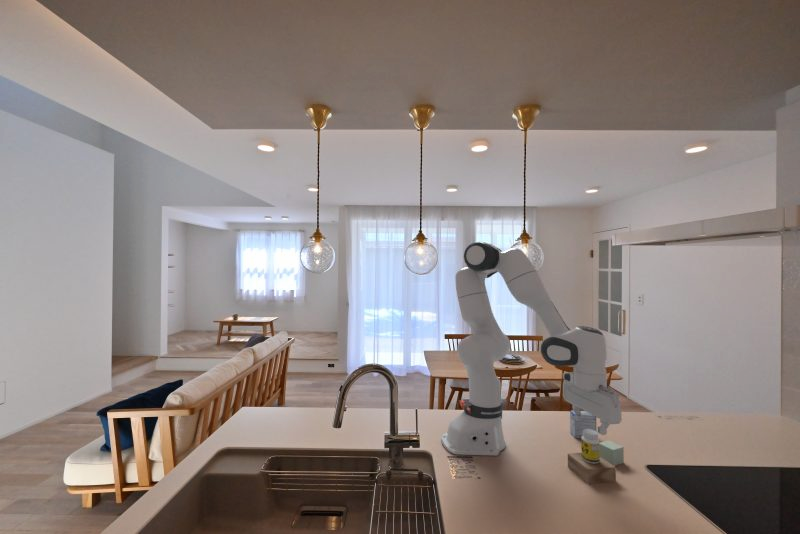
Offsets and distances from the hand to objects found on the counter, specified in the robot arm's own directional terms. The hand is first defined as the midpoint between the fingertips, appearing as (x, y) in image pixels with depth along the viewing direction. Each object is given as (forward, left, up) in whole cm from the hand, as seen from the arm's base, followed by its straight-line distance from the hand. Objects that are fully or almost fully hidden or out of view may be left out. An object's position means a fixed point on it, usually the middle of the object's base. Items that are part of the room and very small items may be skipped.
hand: (590, 426), depth 103 cm
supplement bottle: (0, 0, -10) cm, 10 cm away
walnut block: (0, 0, -14) cm, 14 cm away
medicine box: (+15, +23, -14) cm, 31 cm away
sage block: (+12, +6, -14) cm, 19 cm away
